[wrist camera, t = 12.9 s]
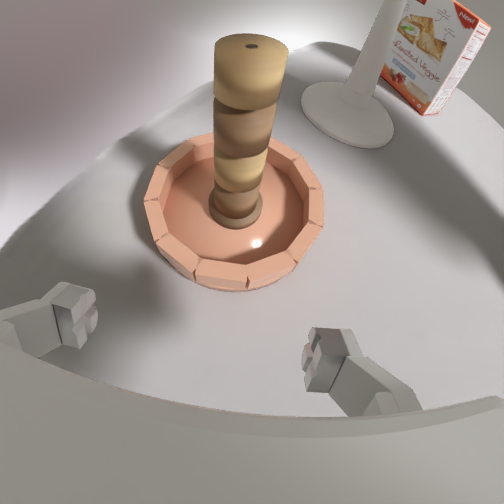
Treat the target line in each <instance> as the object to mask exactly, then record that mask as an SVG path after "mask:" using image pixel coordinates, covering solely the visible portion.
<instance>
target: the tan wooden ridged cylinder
mask: <svg viewBox="0 0 504 504" xmlns="http://www.w3.org/2000/svg"><path fill="white" fill-rule="evenodd" d="M287 56H288V48H287V47H286V46H285V45H284V44H283V43H281V42H280V41H278V40H276V39H274V38H271V37H267V36H264V35H258V34H234V35H229V36H225V37H223V38H221V39H219V40H218V41H217V42H216V43H215V52H214V95H215V98H214V188H213V190H212V191H211V193H210V195H209V200H208V205H209V212H210V215H211V217H212V218H213V220H214V221H215V222H216V223H217V224H219V225H220V226H222V227H224V228H227V229H233V230H239V229H244V228H247V227H249V226H251V225H252V224H254V223H255V222H256V221H257V220H258V218H259V216H260V214H261V210H262V206H263V200H262V196H261V194H260V192H259V190H260V185H261V180H262V175H263V170H264V166H265V161H266V156H267V151H268V145H269V142H270V137H271V132H272V127H273V123H274V118H275V113H276V108H277V104H276V102H277V100H278V98H279V94H280V89H281V85H282V80H283V75H284V71H285V66H286V61H287Z"/></svg>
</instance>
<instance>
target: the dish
mask: <svg viewBox="0 0 504 504" xmlns="http://www.w3.org/2000/svg"><path fill="white" fill-rule="evenodd" d="M300 156H301V154H299V153H297V152H296V151H294V150H293V149H291V148H289V147H288V146H286V145H284V144H283V143H281V142H279V141H277V140H276V139H274V138H272V137H270V142H269V145H268V151H267V156H266V161H265V166H264V170H263V175H262V180H261V185H260V190H259V192H260V194H261V196H262V200H263V206H262V210H261V214H260V216H259V218H258V220H257V221H256V222H255V223H254V224H252V225H251V226H249V227H247V228H244V229H239V230H233V229H227V228H224V227H222V226H220V225H219V224H217V223H216V222H215V221H214V220H213V218H212V217H211V215H210V212H209V205H208V200H209V195H210V193H211V191H212V190H213V188H214V132H213V133H209V134H205V135H201V136H197V137H194V138H190V139H189V141H188V140H186V141H185V142H183V143H182V144H181V145H180V146H178V147H177V148H176V149H175V150H173V151H172V152H171V153H170V154H168V155H167V156H166V157H165V158H164V159H162V160H161V161H160V162H159V163H158V165H156V168H155V170H154V173H153V176H152V178H151V181H150V184H149V186H148V189H147V192H146V195H145V197H144V206H145V210H146V214H147V217H148V221H149V225H150V228H151V232H152V235H153V239H154V242H155V244H156V246H157V248H158V250H159V251H160V253H161V254H162V255H163V256H164V257H165V258H166V259H167V260H168V261H169V263H170V264H171V265H172V266H173V267H174V268H175V269H176V270H177V271H178V272H179V273H180V274H182V275H183V276H185V277H186V278H187V279H189V280H191V281H193V282H195V283H197V284H199V285H201V286H204V287H207V288H210V289H214V290H219V291H227V292H245V291H250V290H256V289H259V288H262V287H266V286H268V285H270V284H272V283H274V282H277V281H278V280H280V279H281V278H283V277H284V276H286V275H287V274H290V272H291V271H293V270H294V269H295V267H296V266H297V264H298V263H299V262H300V261H301V259H302V258H303V256H304V255H305V253H306V252H307V251H308V249H309V248H310V247H311V245H312V244H313V242H314V241H315V240H316V238H317V237H318V235H319V234H320V232H321V230H322V229H323V226H324V205H323V189H322V185H321V184H320V182H319V181H318V179H317V177H316V176H315V174H314V173H313V171H312V170H311V168H310V167H309V165H308V163H307V162H306V160H305V159H304V157H300Z"/></svg>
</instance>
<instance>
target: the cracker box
mask: <svg viewBox="0 0 504 504" xmlns="http://www.w3.org/2000/svg"><path fill="white" fill-rule="evenodd" d="M490 30H491V27H490V26H489V25H488V24H486V23H485V22H484V21H483V20H481V19H480V18H479V17H477V16H476V15H475V14H473V13H472V12H471V11H469V10H468V9H466V8H465V7H464V6H462V5H461V4H460V3H458V2H457V1H455V0H407V2H406V5H405V8H404V11H403V14H402V17H401V20H400V23H399V25H398V28H397V31H396V34H395V37H394V39H393V42H392V45H391V47H390V50H389V53H388V56H387V58H386V61H385V63H384V66H383V69H382V71H381V74H380V75H381V76H382V77H383V78H384V79H385V80H386V81H387V82H388V83H390V84H391V85H392V86H393V87H394V88H395V89H396V90H397V91H398V92H399V93H400V94H401V95H402V96H403V97H404V98H405V99H406V100H407V101H408V102H409V103H410V104H411V105H412V106H413V107H414V108H415V109H416V110H417V111H418V112H419V113H420V114H421V115H422V116H423V115H430V114H438V113H439V111H440V110H441V109H442V107H443V106H444V104H445V103H446V101H447V100H448V98H449V97H450V95H451V94H452V92H453V91H454V89H455V88H456V86H457V85H458V83H459V82H460V80H461V79H462V77H463V75H464V74H465V72H466V71H467V69H468V67H469V66H470V64H471V62H472V61H473V59H474V58H475V56H476V54H477V53H478V51H479V49H480V47H481V46H482V44H483V42H484V40H485V39H486V37H487V35H488V33H489V32H490Z"/></svg>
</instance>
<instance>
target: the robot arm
mask: <svg viewBox="0 0 504 504" xmlns="http://www.w3.org/2000/svg"><path fill="white" fill-rule="evenodd" d="M95 301H96V297H95V292H94V291H93V290H92V289H89V288H85V287H82V286H78V285H74V284H71V283H67V282H59V283H58V284H57V285H56V286H54V287H53V288H52V289H51V290H50V291H49V292H48V293H46V294H45V295H44V296H43V297H42V298H41V299H40V300H38V299H35V300H31V301H28V302H25V303H21V304H18V305H15V306H11V307H8V308H5V309H2V310H0V504H504V399H502V398H500V397H498V396H488V397H484V398H481V399H477V400H473V401H468V402H464V403H459V404H455V405H450V406H444V407H439V408H433V409H427V410H422V407H421V405H420V403H419V401H418V399H417V397H416V395H415V393H414V391H413V389H411V388H410V387H408V386H407V385H406V384H404V383H403V382H401V381H400V380H399V379H397V378H396V377H394V376H393V375H392V374H390V373H389V372H388V371H386V370H385V369H383V368H382V367H381V366H379V365H378V364H377V363H375V362H374V361H372V360H371V359H370V358H368V357H364V356H363V354H362V351H361V349H360V347H359V345H358V342H357V340H356V338H355V336H354V333H353V331H352V330H350V329H330V328H317V327H312V328H311V330H310V332H309V335H308V338H309V343H307V344H306V345H305V347H304V350H303V354H302V370H303V371H304V372H305V373H306V374H305V377H304V382H305V387H306V392H321V393H329V395H330V396H331V397H332V399H333V400H334V401H335V402H336V403H337V404H338V405H339V407H340V408H341V409H342V410H343V411H344V412H345V413H346V414H347V416H348V417H291V416H274V415H261V414H251V413H242V412H233V411H226V410H219V409H212V408H206V407H200V406H194V405H189V404H184V403H179V402H174V401H169V400H164V399H160V398H156V397H151V396H147V395H143V394H139V393H136V392H132V391H128V390H125V389H121V388H118V387H114V386H111V385H108V384H105V383H101V382H98V381H95V380H92V379H89V378H87V377H84V376H81V375H78V374H75V373H73V372H70V371H67V370H65V369H62V368H60V367H57V366H55V365H52V364H50V363H47V362H45V361H43V360H41V359H38V358H40V357H42V356H43V355H45V354H47V353H49V352H51V351H52V350H54V349H56V348H58V347H59V346H61V345H62V344H63V345H66V346H70V347H73V348H76V349H79V350H80V349H81V347H82V346H83V344H84V343H85V342H86V340H87V334H89V333H92V332H93V331H94V329H95V328H96V325H97V322H98V311H97V308H96V307H95V306H94V302H95Z"/></svg>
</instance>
